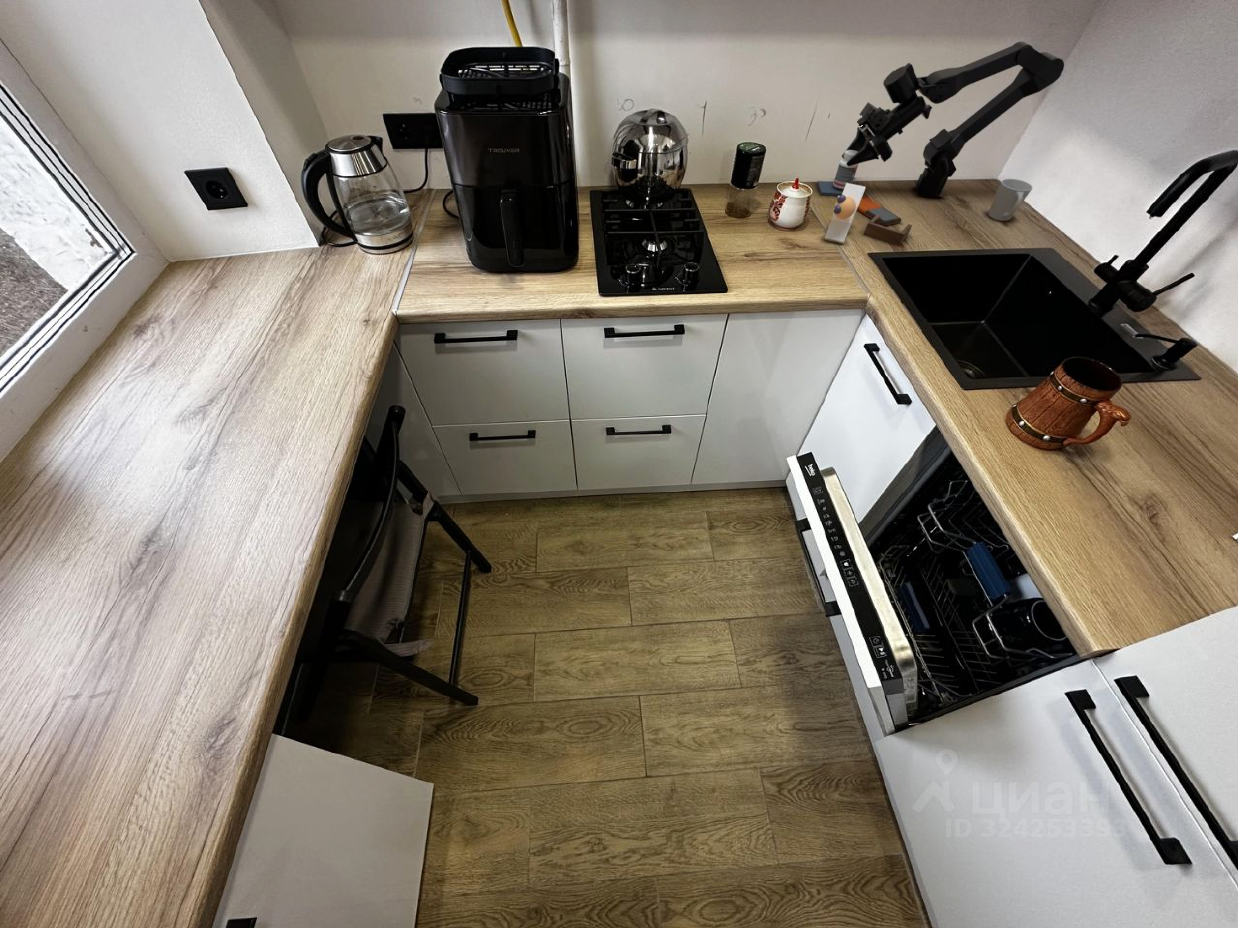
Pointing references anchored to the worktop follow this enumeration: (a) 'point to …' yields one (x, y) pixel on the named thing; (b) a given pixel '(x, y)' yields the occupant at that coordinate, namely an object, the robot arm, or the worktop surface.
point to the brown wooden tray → (886, 232)
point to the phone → (877, 212)
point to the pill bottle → (845, 170)
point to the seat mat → (830, 188)
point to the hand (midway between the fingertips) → (844, 161)
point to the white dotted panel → (844, 212)
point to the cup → (1009, 198)
